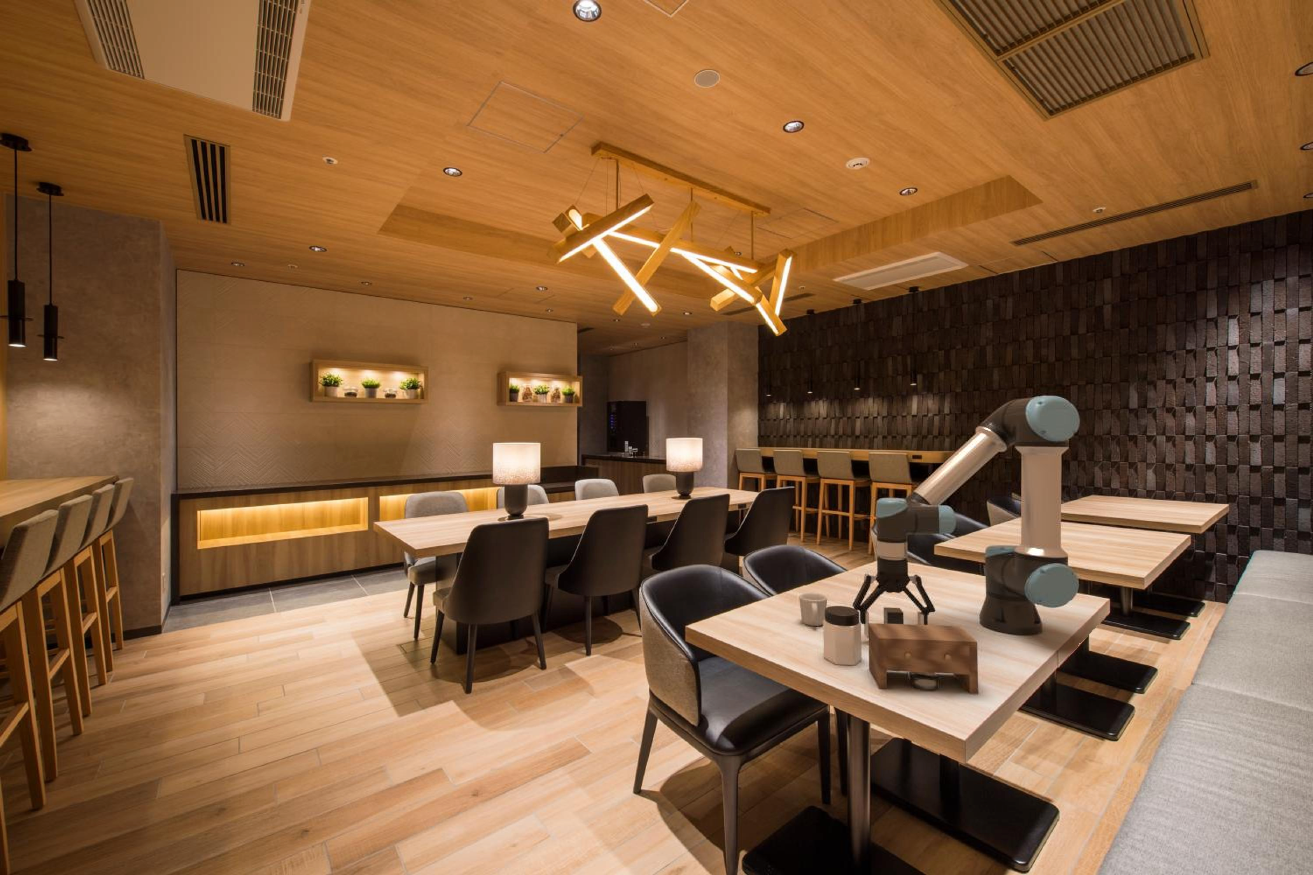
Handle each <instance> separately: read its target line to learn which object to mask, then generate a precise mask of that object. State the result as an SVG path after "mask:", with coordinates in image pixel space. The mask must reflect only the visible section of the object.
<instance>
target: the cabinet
mask: <svg viewBox="0 0 1313 875" xmlns="http://www.w3.org/2000/svg"><path fill="white" fill-rule="evenodd" d="M867 639H868V670H869V673H870V675H871V676H872V678H873V680H874V681H875V684H876V685H877V688H878V689H879V690H881V689H882V690H888V686H887V685H888V682H887V680H888V679H887V678H888V676H887V674H888V672H927V673H936V674H950V675H951V674H952V675H953V676H954V677H955V678H956V679H957V680H958V682H959V683H960V684H961V685H962V686H963V687H964V688H965V690H966V691H968V693H969V694H975V695H976V694H977V695H979V673H978V672H979V671H978V670H979V669H978V668H979V666H978V665H979V664H978V663H979V661H978V641H977V640H976V639H975V638H974V637H972V636H971V635H970V634H969V633H968V632H966V631H965V630H964V629H963V628H962V626H960V625H938V624H935V625H934V624H933V625H932V624H931V625H930V624H928V625H918V624H908V623H906V624H905V623H904V624H884V623H881V622H879V623H875V622H874V623H873V622H869V623H868V638H867Z"/></svg>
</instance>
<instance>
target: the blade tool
mask: <svg viewBox="0 0 1313 875" xmlns="http://www.w3.org/2000/svg"><path fill="white" fill-rule="evenodd" d="M904 622H905V621H904V611H902V609H901V608H900V607H888V606H887V607H885V606H884V607H883V624H905V623H904Z"/></svg>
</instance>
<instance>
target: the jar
mask: <svg viewBox="0 0 1313 875" xmlns="http://www.w3.org/2000/svg"><path fill="white" fill-rule="evenodd" d="M824 614H825V620H823V625H822V626H823V628H822V630H823V632H822V634H823V658H824V659H825V660H827V661H830V662H831V663H832V664H834V665H839V666H842V665H843V666H856V665H857V664H858V663H860V662H861V661H862V659H863V658H862V623H861V622H860V611H859V610H856V609H854V607H852V606H851V607H850V606H843V605H833V606H832V605H831V606H828V607H826V609H825V613H824Z"/></svg>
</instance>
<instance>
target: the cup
mask: <svg viewBox="0 0 1313 875" xmlns="http://www.w3.org/2000/svg"><path fill="white" fill-rule="evenodd" d="M798 598H799V608H800V616H801V620H802V622H803V624H805V625H807V626H813V627H818V626H819V627H820V626H823V620H825V614H824V613H825V609H826V608H827V604H828V597H827V596H826V595H824V594H822V593H821V594H820V593H816V592H806V593H801V594H799V597H798Z"/></svg>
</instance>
